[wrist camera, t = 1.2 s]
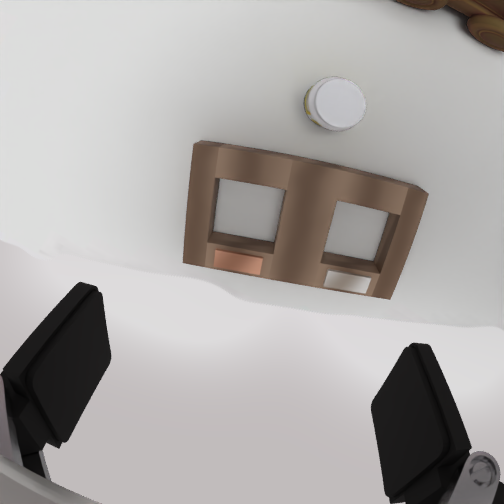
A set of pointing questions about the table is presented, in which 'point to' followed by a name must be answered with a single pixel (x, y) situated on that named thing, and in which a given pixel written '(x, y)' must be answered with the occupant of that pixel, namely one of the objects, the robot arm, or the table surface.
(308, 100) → the supplement bottle
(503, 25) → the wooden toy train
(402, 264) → the socket block
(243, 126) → the table surface
